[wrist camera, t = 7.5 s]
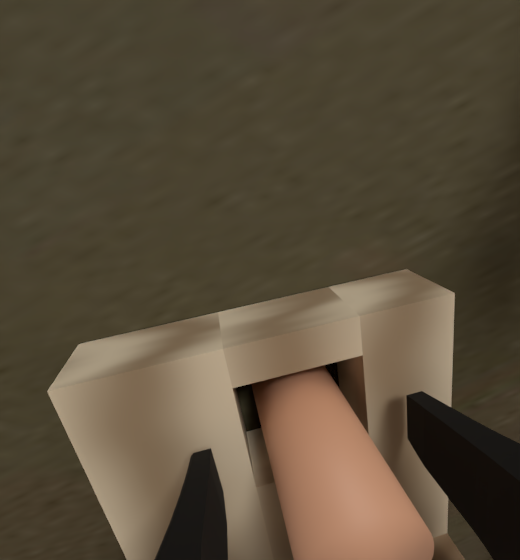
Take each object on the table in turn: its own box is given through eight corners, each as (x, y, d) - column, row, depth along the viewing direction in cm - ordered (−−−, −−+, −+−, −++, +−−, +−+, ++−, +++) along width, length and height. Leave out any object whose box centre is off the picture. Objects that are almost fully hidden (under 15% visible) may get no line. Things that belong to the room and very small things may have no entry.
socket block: (406, 269, 15) (561, 346, 9) (411, 494, 20) (512, 651, 13) (78, 344, 13) (-29, 504, 7) (170, 567, 18) (155, 783, 12)
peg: (320, 335, 15) (438, 500, 8) (324, 397, 16) (430, 592, 9) (245, 350, 15) (294, 538, 7) (255, 412, 16) (306, 631, 8)
